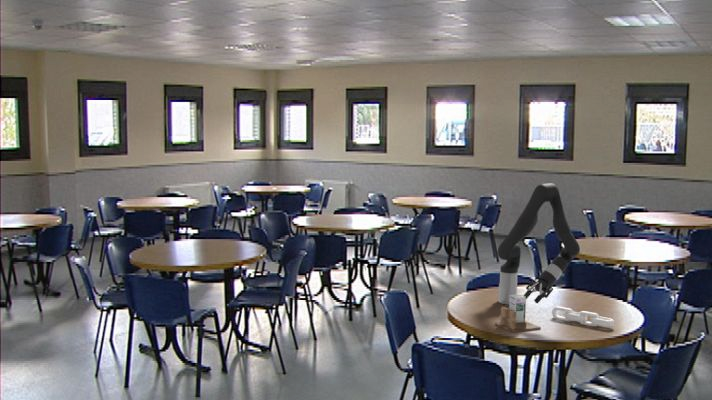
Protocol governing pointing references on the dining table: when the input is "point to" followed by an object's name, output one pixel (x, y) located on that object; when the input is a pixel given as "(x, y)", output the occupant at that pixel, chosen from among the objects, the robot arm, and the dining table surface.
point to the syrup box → (518, 306)
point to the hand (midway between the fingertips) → (530, 300)
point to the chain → (582, 317)
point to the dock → (514, 322)
